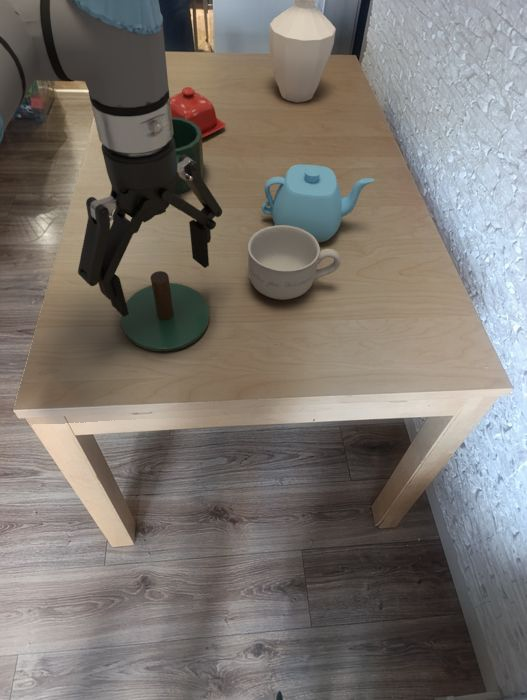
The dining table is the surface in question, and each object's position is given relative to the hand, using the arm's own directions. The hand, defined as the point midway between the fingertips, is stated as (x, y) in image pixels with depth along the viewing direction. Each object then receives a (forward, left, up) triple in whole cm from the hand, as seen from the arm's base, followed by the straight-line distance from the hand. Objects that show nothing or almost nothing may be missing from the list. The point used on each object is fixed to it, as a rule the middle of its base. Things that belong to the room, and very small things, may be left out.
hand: (162, 285), depth 69 cm
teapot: (+28, +17, -7) cm, 33 cm away
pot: (+6, +36, -7) cm, 37 cm away
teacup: (+20, +3, -7) cm, 21 cm away
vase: (+39, +64, -7) cm, 75 cm away
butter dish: (+12, +52, -7) cm, 54 cm away
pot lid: (0, 0, -7) cm, 7 cm away
